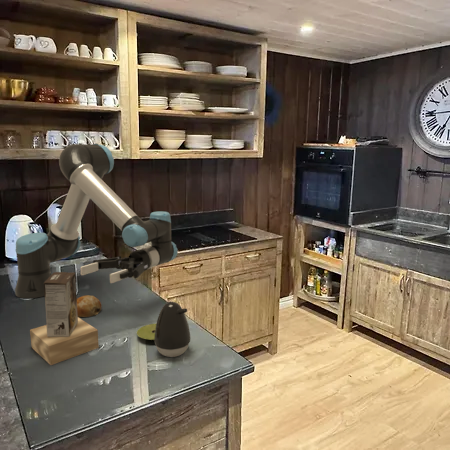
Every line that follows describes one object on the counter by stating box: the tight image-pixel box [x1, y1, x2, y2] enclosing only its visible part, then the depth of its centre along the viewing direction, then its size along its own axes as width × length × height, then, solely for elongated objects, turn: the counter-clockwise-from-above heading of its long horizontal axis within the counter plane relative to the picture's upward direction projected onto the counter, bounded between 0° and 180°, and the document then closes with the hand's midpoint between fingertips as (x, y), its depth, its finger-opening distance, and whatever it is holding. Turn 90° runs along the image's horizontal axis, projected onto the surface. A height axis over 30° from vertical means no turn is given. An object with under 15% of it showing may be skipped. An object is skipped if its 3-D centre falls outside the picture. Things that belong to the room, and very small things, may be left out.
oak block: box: [29, 317, 100, 366], centre depth 120 cm, size 14×14×6 cm
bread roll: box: [77, 295, 103, 318], centre depth 145 cm, size 10×10×8 cm
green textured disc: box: [136, 323, 156, 341], centre depth 127 cm, size 11×11×2 cm
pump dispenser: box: [153, 301, 191, 358], centre depth 116 cm, size 10×10×15 cm
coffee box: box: [44, 271, 79, 337], centre depth 117 cm, size 9×6×16 cm
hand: (95, 274), depth 128 cm, fingers open, 13 cm apart
